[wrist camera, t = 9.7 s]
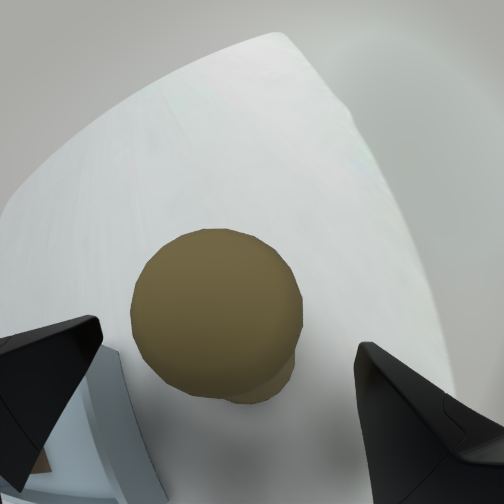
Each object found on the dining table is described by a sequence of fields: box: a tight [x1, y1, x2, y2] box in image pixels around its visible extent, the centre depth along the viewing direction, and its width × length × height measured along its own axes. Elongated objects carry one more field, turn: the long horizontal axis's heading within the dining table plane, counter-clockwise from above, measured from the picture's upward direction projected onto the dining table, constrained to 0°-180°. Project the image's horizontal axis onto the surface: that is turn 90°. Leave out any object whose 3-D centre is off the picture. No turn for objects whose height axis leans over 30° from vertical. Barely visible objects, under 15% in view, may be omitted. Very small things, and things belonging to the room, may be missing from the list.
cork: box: [130, 229, 303, 404], centre depth 11 cm, size 6×6×11 cm
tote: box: [0, 345, 168, 504], centre depth 11 cm, size 11×17×5 cm, turn 111°
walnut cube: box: [31, 447, 52, 474], centre depth 10 cm, size 5×5×5 cm
